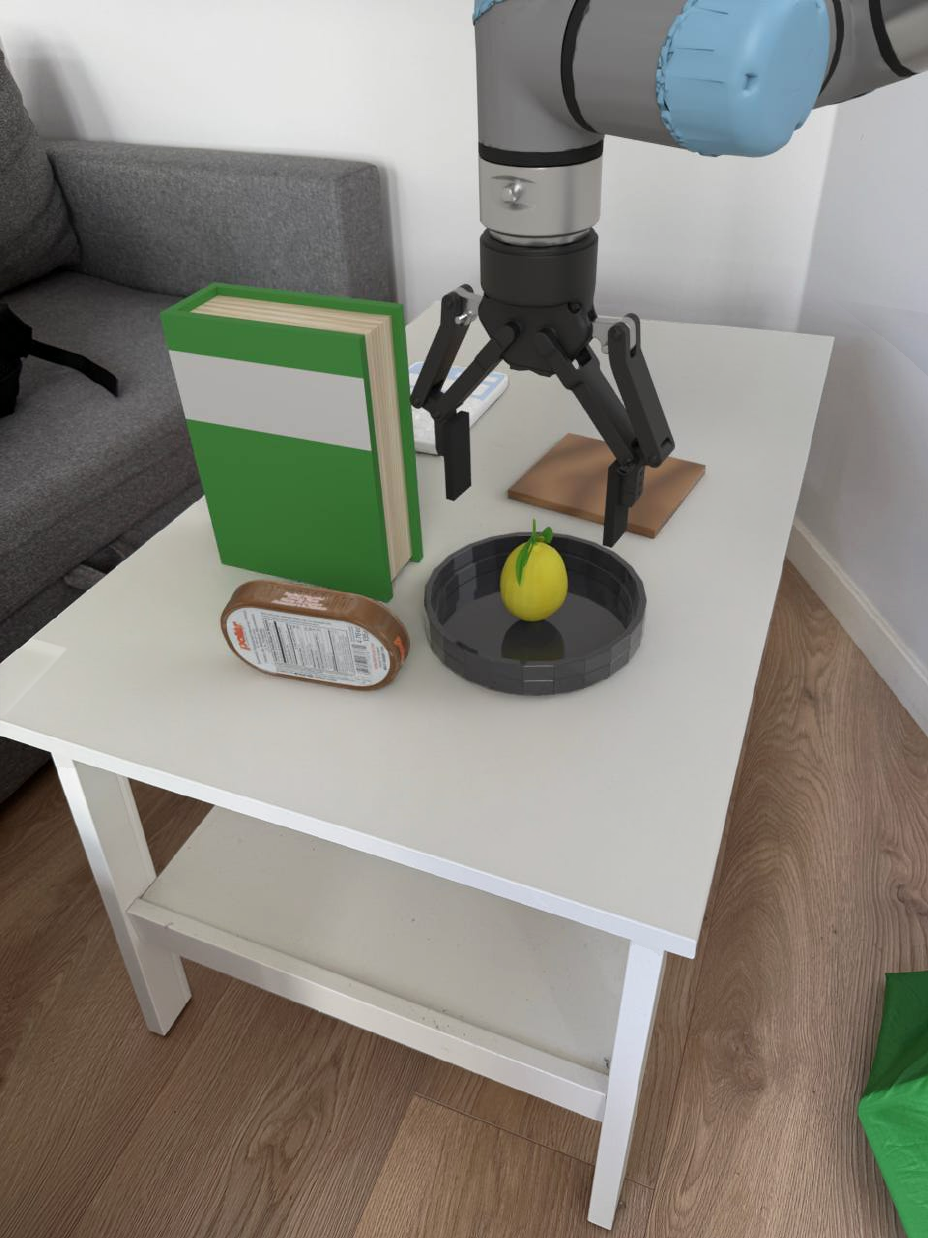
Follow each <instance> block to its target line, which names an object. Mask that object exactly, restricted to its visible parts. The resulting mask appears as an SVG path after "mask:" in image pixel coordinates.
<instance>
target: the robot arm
mask: <svg viewBox="0 0 928 1238" xmlns="http://www.w3.org/2000/svg"><path fill="white" fill-rule="evenodd" d="M471 19H472V25H473V27H474V44H475V45H474V46H475V70H476V71H475V72H476V73H475V75H476V104H477V106H476V107H477V109H476V110H477V135H478V136H477V154H478V155H477V157H478V159H477V162H478V197H479V199H478V200H479V222H480V223H481V224H482V225H483V226H484V227H485V229H484V230H483V232H482V233H481V235H480V236H479V267H480V268H479V273H480V274H479V279H480V281H479V282H480V283H479V284H480V287H481V290H482V291H483V295H481V294H477V293H475V291H474V289H473V287H472V286H471V285H470V284H468V283H463V284H461V285H459V286H458V287H456V288H454V289H452V290H451V291H450V292H447V293H446V294H445V295H443V296H442V297H441V302H440V319H439V320H440V321H439V326H438V328H437V331H436V333H435V335H434V338H433V341H432V343H431V346H430V348H429V350H428V352H427V354H426V357H425V360H424V361H423V362H424V364H423V367H422V369H421V371H420V374H419V376H418V379H417V381H416V383H415V386H414V388H413V391H412V393H411V395H410V403H411V405H412V406H413V407H414V408H416V409H420V408H423V409H425V410H426V411H428V412H429V413H430V415H431V417H432V419H433V420H434V430H435V447H436V451H437V454H438V455H437V456H440V457H443V466H444V467H443V470H444V487H445V499H446V500H448V501H452V502H455V501H456V500H458V498H460V496H462V495H463V494H464V493H465V492H466V491H467V490H469V489H470V488H471V487H472V460H471V459H472V458H471V457H472V456H471V428H470V423H469V412H465V411H459V412H458V413H457V408H459V407H460V406H461V405H463V402H464V401H465V400H466V399H467V398H468V397H469V396H470V395H471V394H472V392H473V391H474V390H475V389H476V388H477V387H478V386H479V385H480V384H481V383H482V382H483V381H484V379H485V378H486V377H487V376H488V375H489V374H490V373H491V372H492V371H493V372H494V370H495V369H496V368H497V367H498V366H499V364H501V362H502V361H504V362H505V363H506V364H507V365H509V370H513V371H517V372H518V371H519V372H525V371H530V372H532V373H534V374H536V375H538V376H541V377H545V378H551V377H553V376H554V375H555V376H556V377H557V379H558V380H559V381H560V383H561V385H562V387H564V389H566V390H568V391H571V392H572V393H573V395H574V396H575V398H576V400H577V401H578V402H579V404H580V406H581V407H582V409H583V411H584V412H585V413H586V415H587V416H588V418H589V419H590V422H591V423H592V424H593V426H594V427H595V428H596V430H597V432H598V434H599V435H600V436H601V438H602V439H603V441H605V442H606V444H607V445H608V447H609V448H610V450H611V451H612V453H613V454H614V456H615V457H616V460H615V461H614V462H613V463H612V464H611V465H610V466H609V467H608V479H607V492H606V505H605V518H604V524H603V531H602V532H603V533H602V534H603V535H602V544H601V546H603V547H606V548H610V549H612V548H613V547H614V546H615V545H616V544H617V543H618V541H619V540H620V539H621V538H622V537H623V535H624V534H625V533H626V532H627V531H626V530H627V521H628V510H629V507H631V508H632V507H633V505H634V504H635V503H636V502H637V501H638V499H639V498H640V496H641V495H642V493H643V483H644V482H643V481H644V474H645V466H650V467H652V468H657V467H659V466H660V465H661V464H662V463H663V462H664V461H665V459H666V458H667V457H668V456H669V457H670V455H671V454H672V452H673V451H674V450H675V449H676V442H675V439H674V436H673V434H672V432H671V431H672V430H671V429H670V425H669V423H668V420H667V417H666V414H665V412H664V409H663V406H662V404H661V401H660V398H659V395H658V393H657V390H656V387H655V384H654V381H653V378H652V376H651V373H650V370H649V367H648V364H647V362H646V358H645V356H644V353H643V351H642V345H641V344H642V342H641V340H642V339H641V336H642V335H641V334H642V333H641V319H640V317H639V315H637V314H636V313H633V312H629V313H627V314H625V315H624V316H623V317H621V318H615V317H599V316H598V314H597V311H596V309H595V305H594V303H595V302H594V301H595V294H596V293H595V292H596V286H597V272H598V271H597V270H598V254H599V234H598V233H597V232H596V230H595V229H594V228H593V227H594V226H595V225H597V223H599V221H600V220H601V211H602V209H601V208H602V186H603V185H602V183H603V182H602V181H603V162H604V161H603V158H604V157H603V155H604V146H605V137H606V135H607V136H613V137H617V138H621V139H627V140H634V141H638V142H643V143H649V144H654V145H659V146H665V147H669V148H676V149H679V150H685V151H688V152H691V153H693V154H694V153H698V154H699V156H702V157H708V158H709V157H710V158H718V157H721V156H732V157H733V156H735V157H745V158H751V159H752V158H754V159H755V158H763V157H767V156H770V155H773V154H775V153H777V152H779V151H780V150H781V149H782V148H784V147H785V146H787V145H788V144H789V142H790V140H791V139H792V137H793V134H794V132H795V131H798V130H800V129H801V128H802V127H803V126H804V124H805V122H806V121H807V120H808V118H809V117H810V114H811V113H812V111H813V110H816V109H820V108H823V107H828V106H833V105H834V106H835V105H838V104H841V103H845V102H848V101H851V100H852V101H853V100H854V99H858V98H861V97H864V96H866V95H869V94H870V93H872V92H874V91H876V90H878V89H881V88H883V87H886V86H889V85H892V84H895V83H898V82H901V81H904V80H907V79H910V78H912V77H913V76H915V75H919V74H922V73H925V72H927V71H928V0H474V5H473V13H472V16H471ZM477 318H478V320H479V322H480V324H481V325H482V327H483V328H484V330H485V332H486V334H487V335H488V337H489V341H488V342H487V343H486V344H485V345H484V346H483V347H482V348H481V349H480V350H479V352H478V353H477V354H476V355H475V357H474V359H473V360H472V361H471V363H469V364H468V366H467V367H466V369H465V371H464V372H463V373H462V374H461V375H460V376H459V377H458V378H457V380H456V381H455V382H454V383H453V384H452V385H451V386H450V388H449V389H448V390H447V391H446V392H445V393H443V392H441V389H442V387H443V384H444V382H445V380H446V378H447V375H448V373H449V371H450V369H451V366H453V365H454V362H455V359H456V358H457V356H458V353H459V350H460V349H461V346H462V344H463V342H464V339H465V337H466V336H467V333H468V331H469V329H470V326H471V323H473V322H474V321H476V320H477ZM593 339H597V340H598V341H599V343H600V346H601V348H600V349H601V353H602V354H604V355H608V362H609V367H610V370H611V374H612V376H613V379H614V381H615V384H616V387H617V390H618V392H619V394H620V397H621V399H620V397H619V396H618V394H617V393H616V391H615V390H614V389H613V387H612V385H611V384H610V382H609V381H608V378H606V376H605V374H604V373H603V371H602V369H601V361H600V358H598V356H597V354H596V353H595V352H594V350H593V348H592V347H591V345H590V343H591V341H592V340H593ZM575 361H576V362H577V364H578V366H577V368H576V367H575V365H574V364H573V363H574V362H575ZM621 400H622V401H621Z"/></svg>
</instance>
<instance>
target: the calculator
mask: <svg viewBox="0 0 928 1238" xmlns="http://www.w3.org/2000/svg"><path fill="white" fill-rule="evenodd" d="M424 362H425V361H416V362H413V363H412V364H411V365H408V369H409V382H410V394H411V393H412V391H413V388H414V386H415V383H416V381H417V379H418V376H419V374H420V371H421V369H422V367H423V364H424ZM466 368H467V367H465V366H459V365H452V366H451V369H450V371H449V373H448V375H447V378H446V380H445V382H444V384H443V387H442V389H441V392H443V393H445V392H446V391H447V390H448V389H449V388H450V386H451V385H452V384H453V383H454V382H455V381H456V380H457V378H458V377H459V376H460V375H461V374H462V373H463V372H464V371H465V369H466ZM508 385H509V376H508V375H507V374H506V373H503V372H499V371H494V370H493V371H492V372H491V373H490V374H489V375H488V376H487V377H486V378H485V379H484V381H483V382H482V383H481V384H480V385H479V386H478V387H477V388H476V389H475V390H474V391H473V392H472V394H471V395H470V396H469V397H468V398H467V399H466V400H465V401H464V402H463V405H461V406H460V407H459V408H457V413H458V412H459V411H465V412H469V423H470V429H471V428H472V427H473V426H474V425H475V424H476V423H477V422H478V420H479V419H480V418H481V417H482V416H483V415H484V414H485V413H486V412H487V411H488V409H489V408H490V407H491V406H492V405H493V404H494V403H495V402H496V401H497V400H498V399H499V398H500V397H501V396H502V394H503V393H504V392H505V391H506V389H507V388H508ZM411 407H412V420H413V432H414V445H415V452H419V453H425V454H429V455H430V454H431V455H435V456H439V455H438V454H437V451H436V447H435V430H434V420H433V419H432V417H431V415H430V413H429V412H428V411H426V410H425V409H423V408H420V409H416V408H414V407H413V406H412V405H411Z"/></svg>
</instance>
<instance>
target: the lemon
mask: <svg viewBox="0 0 928 1238" xmlns="http://www.w3.org/2000/svg"><path fill="white" fill-rule="evenodd" d="M531 532H532V536H531V538H530V539H529V540H528V542H526V543H523V544H522V545H520V546H519V547H517V548H516V549H515V550H514V551H513V552H512V553H511V554H510V555H509V557H508V558H507V560H506V562H505V565H504V567H503V570H502V574H501V580H500V588H501V596H502V600H503V603H504V605H505V607H506V608H507V609H508V611H509V612H510V613H511V614H513V615H514V616H516V617H517V618H519V619H522V620H525V621H540V620H543V619H546V618H548V617H549V616H551V615H553V614H554V613H555V612H556V611H557V610H558V609H559V608H560V607H561V605H562V604H563V602H564V600H565V597H566V594H567V588H568V581H567V574H566V569H565V565H564V562H563V560H562V558H561V556H560V555H559V554H558V552H557V551H556V550H555V549H554V548H552V547H551V546H549V545H547V544H545V543H550V542H551V540H552V537H553V533H554V531H553V528H552V527H550V526H547V527H545V528H544V529H543V530H542V531H540V532H541V533H540V534H539V535H536V532H537V519H536V518H532V531H531Z"/></svg>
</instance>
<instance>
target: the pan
mask: <svg viewBox="0 0 928 1238" xmlns="http://www.w3.org/2000/svg"><path fill="white" fill-rule="evenodd" d="M532 532H533V531H515V532H509V533H503V534H498V535H491V536H488V537H486V538H483V539H480V540H477V541H475V542H471V543H468V544H466V545H464V546H463V547H461V548H459V549H458V550H456V551H454V552H453V553H451V554H449V555H447V556H446V558H444V559H443V561H441V562H440V563H439V564H438V565H437V566H436V567H435V568H434V569H433V570H432V572H431V575H430V576H429V578H428V580H427V582H426V584H425V586H424V594H423V612H424V613H423V615H424V624H425V625H424V627H425V633H426V637H427V638H428V642H429V645H430V648H431V650H432V651H433V652H434V653H435V655H436V656H437V657H438V658H439V660H441V662H442V663H443V664H444V666H445V667H447V668H448V669H450V670H451V671H453V672H454V673H456V674H458V675H459V676H460V677H461V678H463V679H465V680H466V681H469V682H471V683H473V684H477V685H479V686H481V687H484V688H486V689H490V690H492V691H496V692H500V693H504V694H509V695H510V694H511V695H517V696H533V697H535V696H537V697H539V696H553V695H561V694H567V693H572V692H575V691H579V690H582V689H586V688H587V687H590V686H593V685H595V684H598V683H599V682H602V681H604V680H607V679H609V678H611V677H612V676H613V675H615V673H617V672H618V671H620V670H622V668H624V667H625V666H626V665H627V664H629V662H630V661H631V659H632V658H633V657H634V655H635V654H636V652H637V651H638V650H639V648H640V646H641V644H642V638H643V633H644V628H645V621H646V610H647V601H648V600H647V594H646V590H645V584H644V582H643V580H642V579H641V577H640V575H639V574H638V572H637V571H636V570H635V568H634V567H633V565H632V564H630V563H629V562H628V561H627V560H625V559H624V558H623V557H622V556H620V555H619V554H618V553H616V552H615V551H614V550H611V549H609V548H608V547H606V546H603V545H602V544H600V543H597V542H595V541H592V540H588V539H585V538H582V537H577V536H575V535H571V534H566V533H557V532H553V537H552V540H551V542H550V543H545V544H547V545H549V546H551V547H552V548H554V549H555V550H556V551H557V552H558V554H559V555H560V556H561V558H562V560H563V562H564V565H565V569H566V574H567V581H568V588H567V594H566V597H565V600H564V602H563V604H562V605H561V607H560V608H559V609H558V610H557V611H556V612H555V613H554V614H553V615H551V616H549V617H548V618H546V619H543V620H540V621H525V620H522V619H519V618H517V617H516V616H514V615H513V614H511V613H510V612H509V611H508V609H507V608H506V607H505V605H504V603H503V600H502V596H501V588H500V580H501V574H502V570H503V567H504V565H505V562H506V560H507V558H508V557H509V555H510V554H511V553H512V552H513V551H514V550H515V549H516V548H517V547H519V546H520V545H522V544H523V543H526V542H528V540H529V539H530V538H531V536H532ZM541 532H542V531H536V535H539V534H540V533H541Z"/></svg>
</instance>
